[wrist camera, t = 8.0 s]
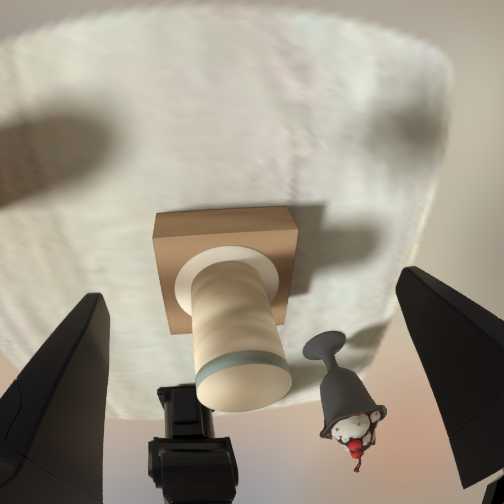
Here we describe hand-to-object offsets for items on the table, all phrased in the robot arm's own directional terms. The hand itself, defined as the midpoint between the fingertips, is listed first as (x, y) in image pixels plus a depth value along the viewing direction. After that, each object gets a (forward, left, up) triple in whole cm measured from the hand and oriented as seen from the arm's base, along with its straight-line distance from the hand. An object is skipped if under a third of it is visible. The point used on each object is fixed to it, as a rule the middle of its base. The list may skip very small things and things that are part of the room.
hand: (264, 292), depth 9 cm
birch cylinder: (-9, 0, -10) cm, 13 cm away
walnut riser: (-9, 0, -13) cm, 16 cm away
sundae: (-22, -11, -13) cm, 28 cm away
